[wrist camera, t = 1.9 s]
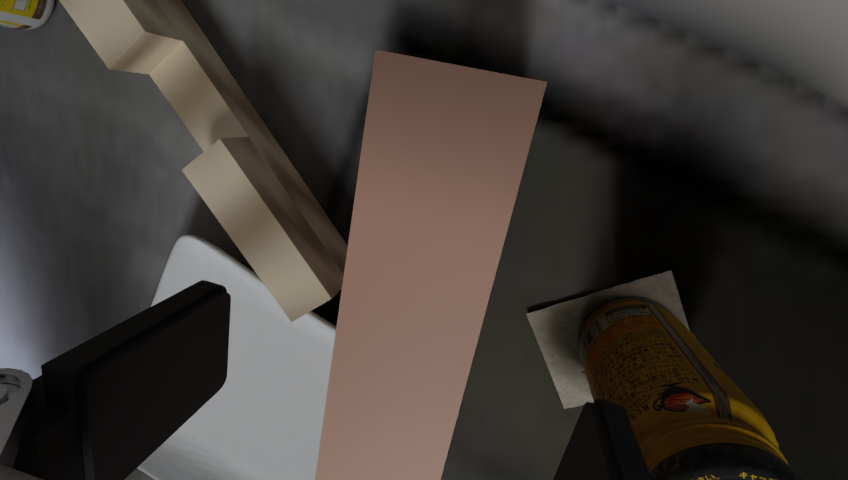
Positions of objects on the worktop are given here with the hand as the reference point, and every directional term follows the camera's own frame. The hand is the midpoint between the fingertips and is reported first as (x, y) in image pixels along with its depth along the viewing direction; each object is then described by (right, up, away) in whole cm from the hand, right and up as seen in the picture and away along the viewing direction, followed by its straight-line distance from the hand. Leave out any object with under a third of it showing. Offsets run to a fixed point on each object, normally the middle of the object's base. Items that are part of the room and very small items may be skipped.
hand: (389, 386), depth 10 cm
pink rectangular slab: (+3, +4, +15) cm, 16 cm away
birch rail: (-11, +12, +15) cm, 22 cm away
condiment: (+13, -3, +15) cm, 20 cm away
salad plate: (-10, -9, +22) cm, 25 cm away
